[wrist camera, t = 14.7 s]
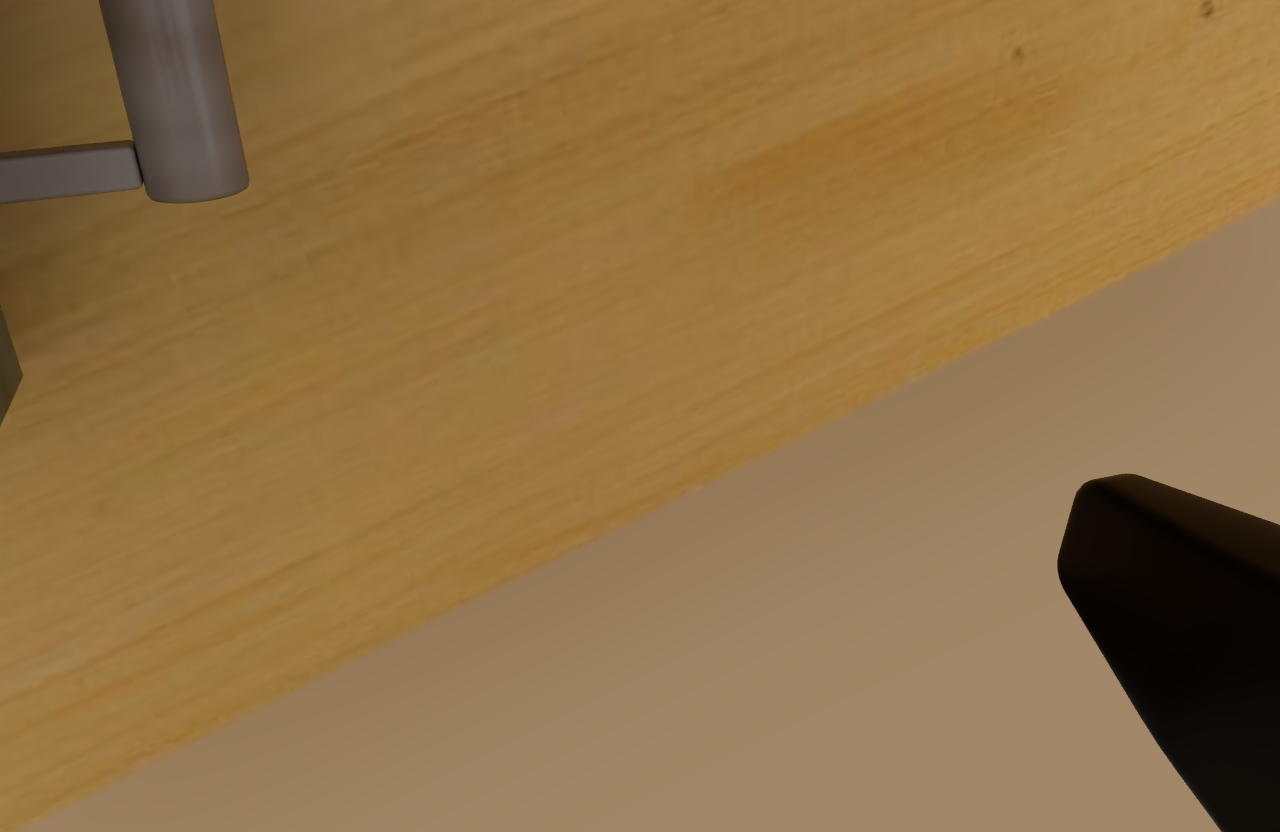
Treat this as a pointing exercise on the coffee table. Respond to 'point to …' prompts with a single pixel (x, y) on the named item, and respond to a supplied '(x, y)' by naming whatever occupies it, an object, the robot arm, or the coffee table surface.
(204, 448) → the coffee table surface
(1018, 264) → the coffee table surface
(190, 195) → the drawer
